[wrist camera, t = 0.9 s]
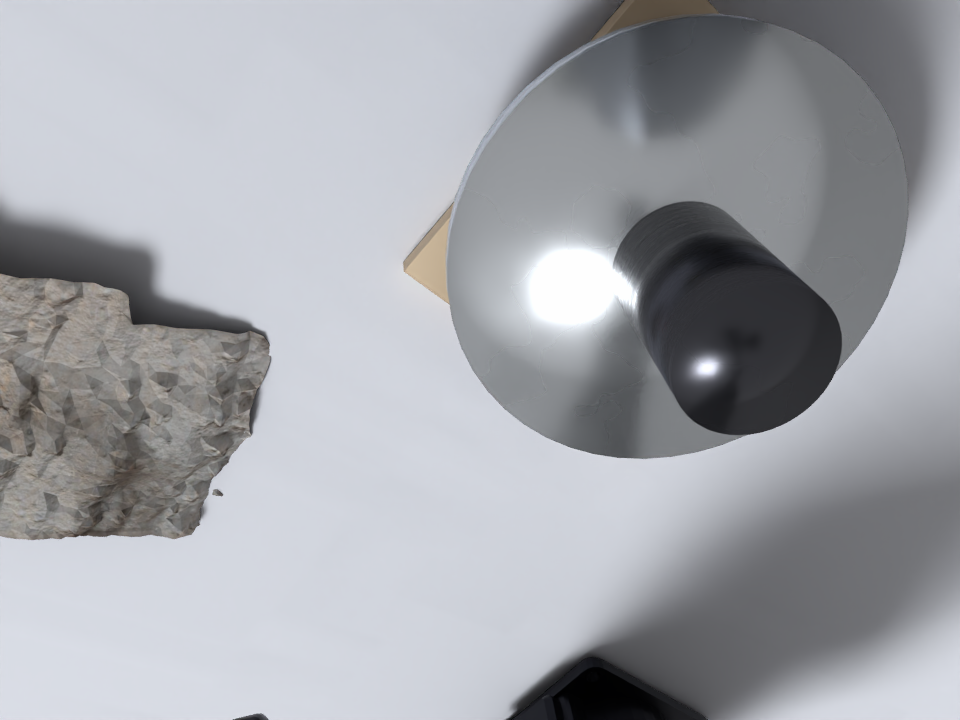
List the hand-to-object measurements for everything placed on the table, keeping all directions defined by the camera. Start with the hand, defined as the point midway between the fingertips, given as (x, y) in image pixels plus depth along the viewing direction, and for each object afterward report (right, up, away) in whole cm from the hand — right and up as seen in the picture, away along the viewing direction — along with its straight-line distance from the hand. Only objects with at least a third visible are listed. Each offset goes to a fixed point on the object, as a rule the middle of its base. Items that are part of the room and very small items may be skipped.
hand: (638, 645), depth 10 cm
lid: (+3, +6, +11) cm, 13 cm away
